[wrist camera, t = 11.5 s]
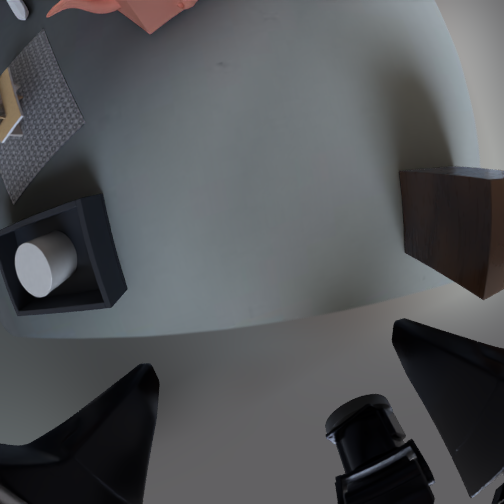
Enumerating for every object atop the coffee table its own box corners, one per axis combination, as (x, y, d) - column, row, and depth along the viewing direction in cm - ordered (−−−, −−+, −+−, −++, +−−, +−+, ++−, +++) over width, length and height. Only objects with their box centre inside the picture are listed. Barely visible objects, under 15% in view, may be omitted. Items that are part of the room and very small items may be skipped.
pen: (26, 28, 12) (18, 23, 10) (8, -3, 9) (2, -6, 7) (36, 17, 12) (28, 12, 10) (16, -11, 8) (10, -15, 7)
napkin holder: (29, 74, 14) (-19, 58, 7) (47, 120, 16) (-11, 111, 9) (9, 98, 15) (-40, 90, 7) (25, 145, 16) (-32, 146, 9)
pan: (103, 193, 18) (80, 197, 15) (127, 289, 21) (111, 308, 17) (12, 226, 18) (-10, 234, 15) (35, 301, 21) (17, 316, 17)
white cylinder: (68, 288, 20) (44, 308, 16) (36, 259, 19) (10, 273, 15) (84, 251, 19) (58, 267, 15) (50, 220, 18) (22, 230, 14)
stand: (457, 238, 21) (532, 272, 11) (404, 253, 21) (483, 300, 11) (454, 166, 19) (537, 175, 9) (398, 171, 19) (490, 179, 9)
